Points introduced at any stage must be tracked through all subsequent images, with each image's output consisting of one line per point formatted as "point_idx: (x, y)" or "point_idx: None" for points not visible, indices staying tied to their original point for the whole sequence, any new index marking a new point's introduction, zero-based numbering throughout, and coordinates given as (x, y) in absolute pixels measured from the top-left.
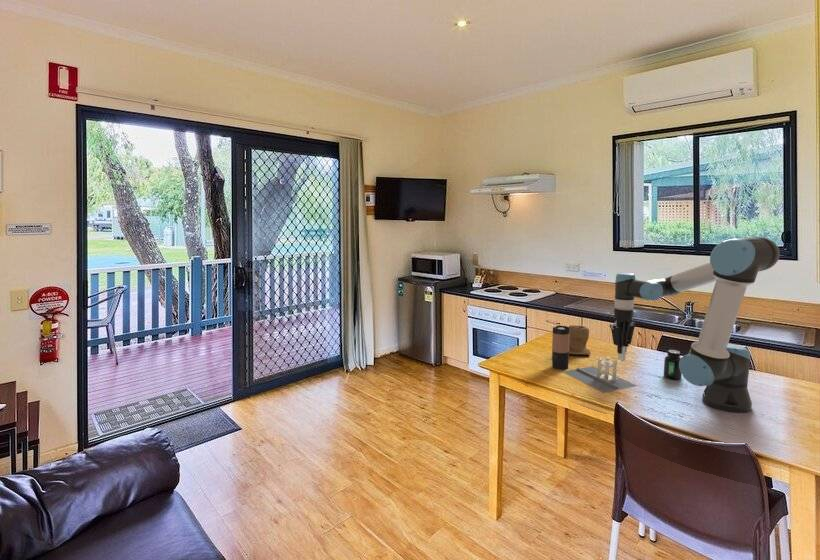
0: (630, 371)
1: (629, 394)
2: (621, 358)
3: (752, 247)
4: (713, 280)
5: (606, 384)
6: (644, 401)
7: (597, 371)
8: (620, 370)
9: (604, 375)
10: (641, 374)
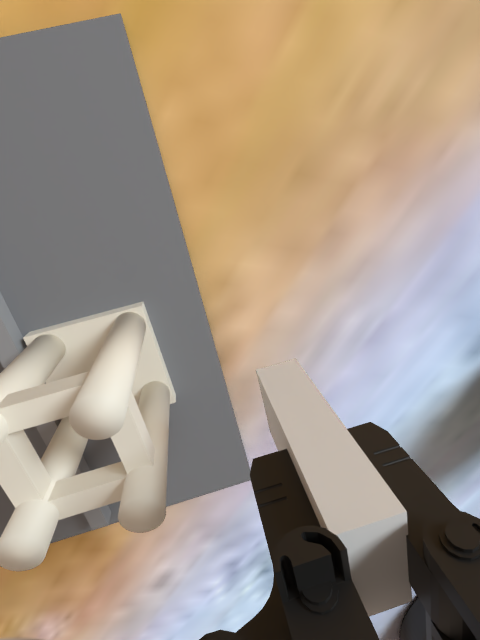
0: (386, 222)
1: (144, 560)
2: (273, 435)
3: None
4: None
5: None
6: (175, 618)
7: (101, 192)
8: (328, 184)
9: (102, 337)
10: (414, 293)
